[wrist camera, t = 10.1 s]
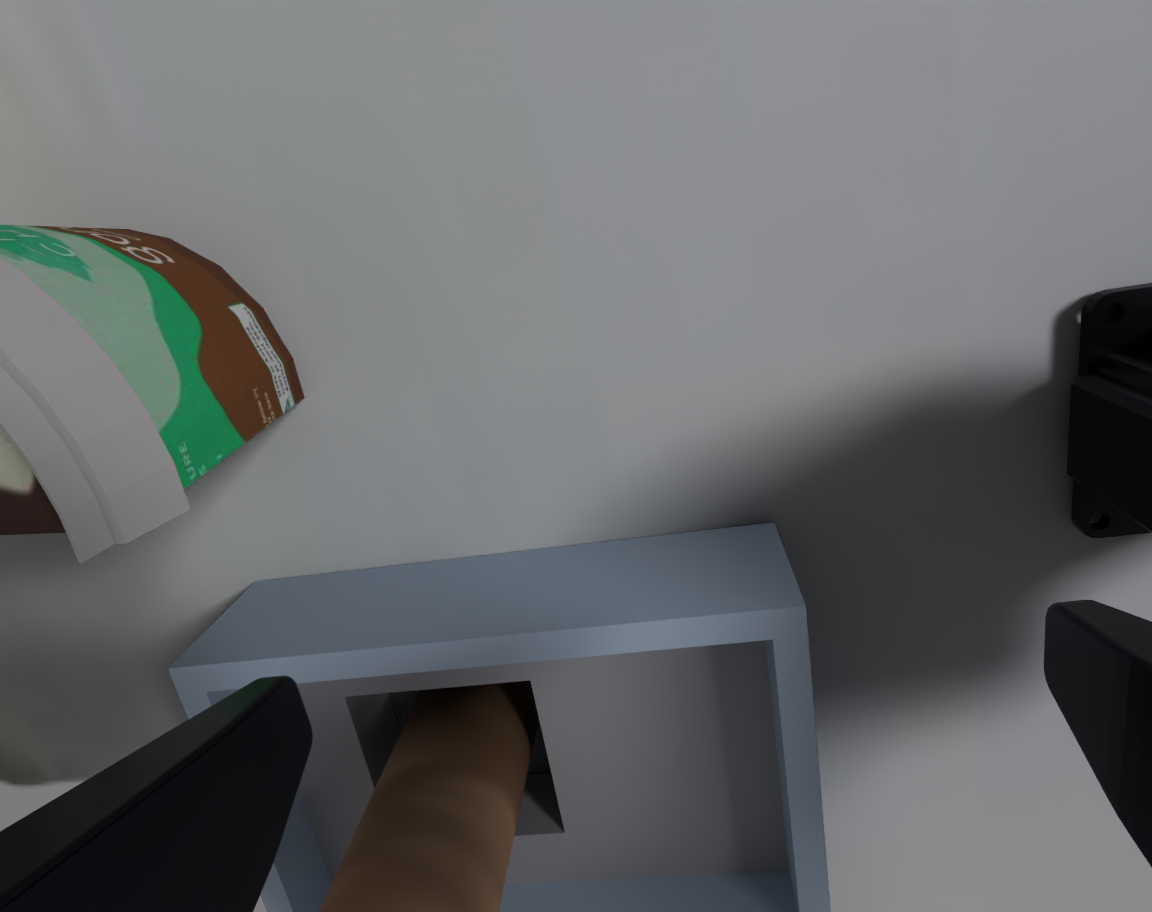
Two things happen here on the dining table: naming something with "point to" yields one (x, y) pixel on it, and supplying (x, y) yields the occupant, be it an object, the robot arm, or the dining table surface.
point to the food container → (123, 380)
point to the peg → (443, 806)
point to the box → (563, 713)
